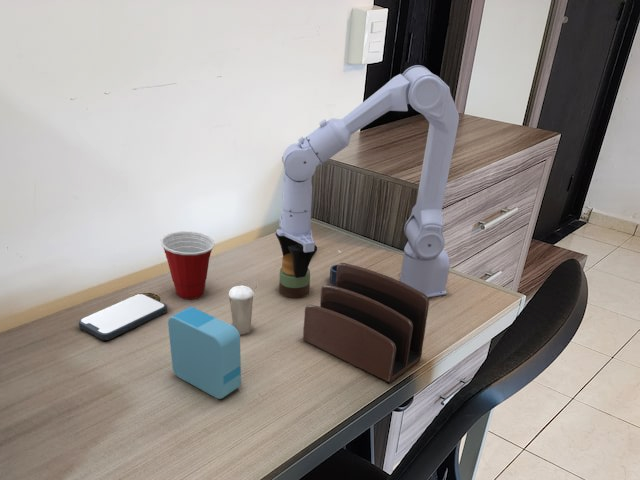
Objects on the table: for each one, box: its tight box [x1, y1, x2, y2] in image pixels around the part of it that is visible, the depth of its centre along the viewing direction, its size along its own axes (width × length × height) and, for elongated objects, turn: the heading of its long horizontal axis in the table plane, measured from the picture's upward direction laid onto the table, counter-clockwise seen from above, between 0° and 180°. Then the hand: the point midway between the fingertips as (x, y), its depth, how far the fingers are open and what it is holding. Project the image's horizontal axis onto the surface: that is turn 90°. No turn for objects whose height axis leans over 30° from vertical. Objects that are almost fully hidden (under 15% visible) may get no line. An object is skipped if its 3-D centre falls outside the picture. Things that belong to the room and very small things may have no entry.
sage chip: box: [279, 267, 311, 288], centre depth 130 cm, size 6×6×2 cm
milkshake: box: [228, 283, 259, 336], centre depth 116 cm, size 5×5×10 cm
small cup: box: [329, 263, 339, 286], centre depth 136 cm, size 4×4×3 cm
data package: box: [167, 306, 242, 400], centre depth 101 cm, size 12×4×12 cm, turn 51°
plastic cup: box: [160, 230, 216, 300], centre depth 128 cm, size 11×11×12 cm
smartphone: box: [78, 293, 168, 341], centre depth 121 cm, size 9×2×16 cm
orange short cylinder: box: [281, 253, 308, 275], centre depth 129 cm, size 5×5×3 cm
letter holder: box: [302, 262, 430, 384], centre depth 110 cm, size 10×20×14 cm, turn 47°
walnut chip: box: [278, 281, 311, 299], centre depth 132 cm, size 6×6×2 cm
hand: (294, 270), depth 130 cm, fingers closed on orange short cylinder, 5 cm apart
